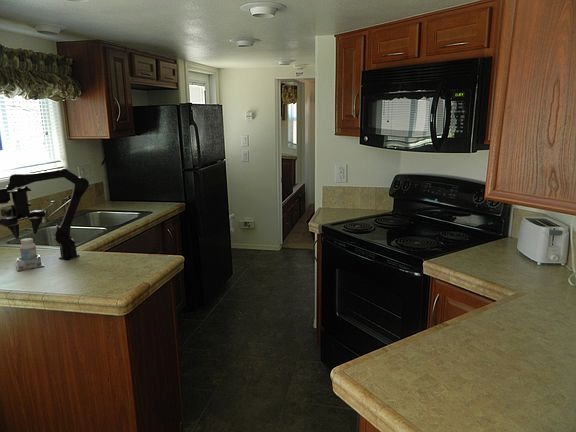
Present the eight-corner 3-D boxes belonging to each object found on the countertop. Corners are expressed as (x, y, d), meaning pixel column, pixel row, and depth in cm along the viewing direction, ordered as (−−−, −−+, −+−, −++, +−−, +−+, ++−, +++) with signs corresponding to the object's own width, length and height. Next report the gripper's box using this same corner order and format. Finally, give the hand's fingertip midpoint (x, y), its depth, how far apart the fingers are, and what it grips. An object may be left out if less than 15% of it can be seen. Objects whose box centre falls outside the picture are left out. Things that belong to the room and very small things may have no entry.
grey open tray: (43, 266, 188) (42, 259, 188) (17, 271, 183) (16, 263, 182) (41, 259, 200) (39, 251, 199) (15, 263, 194) (14, 255, 193)
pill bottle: (19, 264, 190) (15, 240, 188) (32, 260, 195) (28, 237, 193) (27, 266, 187) (24, 241, 185) (40, 262, 193) (37, 238, 190)
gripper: (24, 197, 198) (30, 230, 201) (-14, 205, 180) (-7, 240, 184) (43, 198, 195) (48, 231, 198) (7, 206, 177) (13, 242, 181)
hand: (26, 236), depth 190 cm, fingers open, 9 cm apart
